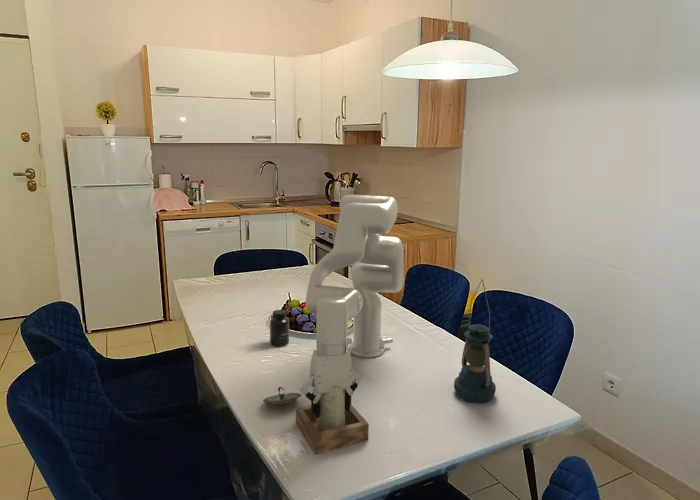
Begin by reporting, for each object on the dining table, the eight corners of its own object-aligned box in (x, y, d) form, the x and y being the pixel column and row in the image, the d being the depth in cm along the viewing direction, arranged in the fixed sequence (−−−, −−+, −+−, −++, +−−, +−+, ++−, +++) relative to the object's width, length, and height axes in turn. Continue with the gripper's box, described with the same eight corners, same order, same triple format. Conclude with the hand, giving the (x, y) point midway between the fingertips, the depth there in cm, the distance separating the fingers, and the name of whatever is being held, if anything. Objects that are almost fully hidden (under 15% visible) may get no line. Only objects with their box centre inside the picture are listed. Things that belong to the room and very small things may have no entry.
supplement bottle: (285, 348, 177) (285, 315, 175) (267, 346, 179) (266, 314, 176) (291, 340, 184) (291, 309, 181) (274, 338, 185) (273, 307, 183)
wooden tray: (344, 412, 136) (344, 397, 135) (368, 440, 124) (368, 423, 123) (295, 424, 130) (295, 408, 129) (315, 454, 118) (315, 437, 117)
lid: (269, 417, 133) (268, 400, 132) (259, 400, 142) (258, 384, 141) (306, 409, 138) (306, 392, 137) (294, 392, 146) (294, 377, 145)
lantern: (505, 403, 142) (516, 285, 135) (468, 409, 139) (477, 288, 131) (479, 380, 156) (487, 271, 148) (444, 385, 152) (451, 274, 145)
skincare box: (345, 427, 127) (346, 382, 125) (337, 435, 124) (338, 390, 121) (323, 420, 130) (323, 377, 128) (315, 429, 126) (314, 384, 124)
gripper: (357, 335, 129) (356, 397, 133) (292, 345, 122) (293, 411, 126) (370, 346, 122) (369, 411, 126) (303, 358, 115) (303, 427, 119)
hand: (331, 411), depth 126 cm, fingers open, 7 cm apart
